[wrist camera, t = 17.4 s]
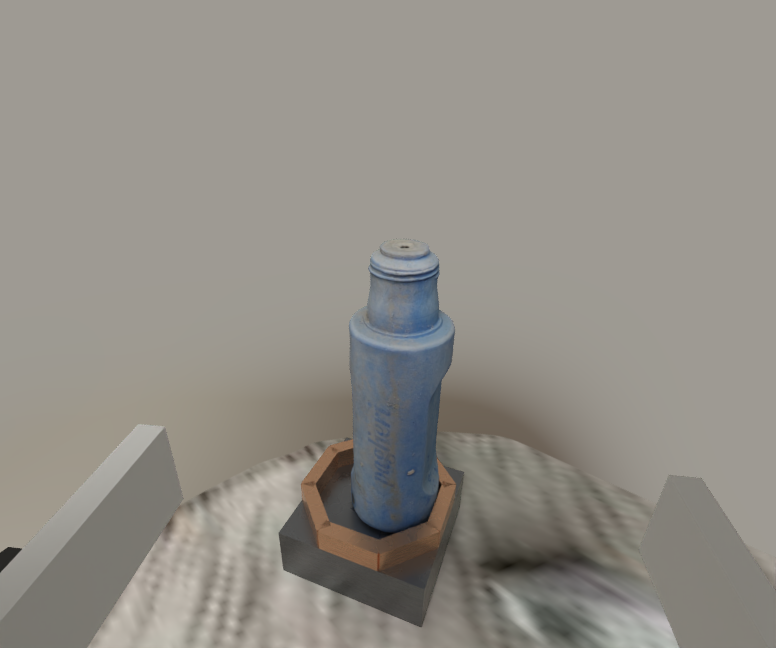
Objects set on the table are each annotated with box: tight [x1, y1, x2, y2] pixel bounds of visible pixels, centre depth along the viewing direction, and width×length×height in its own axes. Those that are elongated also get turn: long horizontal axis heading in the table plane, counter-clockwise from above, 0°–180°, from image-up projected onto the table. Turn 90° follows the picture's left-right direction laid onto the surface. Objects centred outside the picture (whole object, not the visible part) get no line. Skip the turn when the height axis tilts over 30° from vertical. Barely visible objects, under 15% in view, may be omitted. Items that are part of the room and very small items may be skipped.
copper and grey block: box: [279, 438, 464, 627], centre depth 53 cm, size 16×16×8 cm
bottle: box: [349, 239, 455, 533], centre depth 45 cm, size 10×10×30 cm
